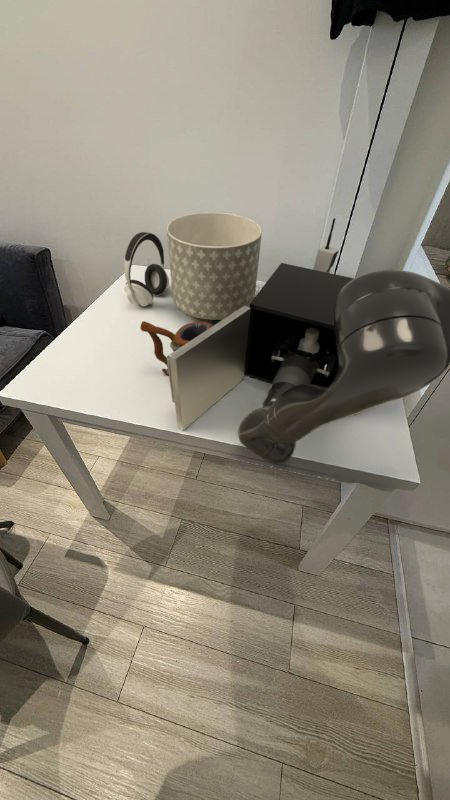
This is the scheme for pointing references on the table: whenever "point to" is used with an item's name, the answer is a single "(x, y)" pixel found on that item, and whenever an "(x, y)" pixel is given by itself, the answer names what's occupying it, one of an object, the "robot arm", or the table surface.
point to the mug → (173, 337)
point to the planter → (213, 263)
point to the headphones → (153, 275)
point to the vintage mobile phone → (326, 255)
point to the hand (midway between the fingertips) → (311, 340)
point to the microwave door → (208, 366)
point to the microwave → (292, 318)
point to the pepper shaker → (310, 341)
